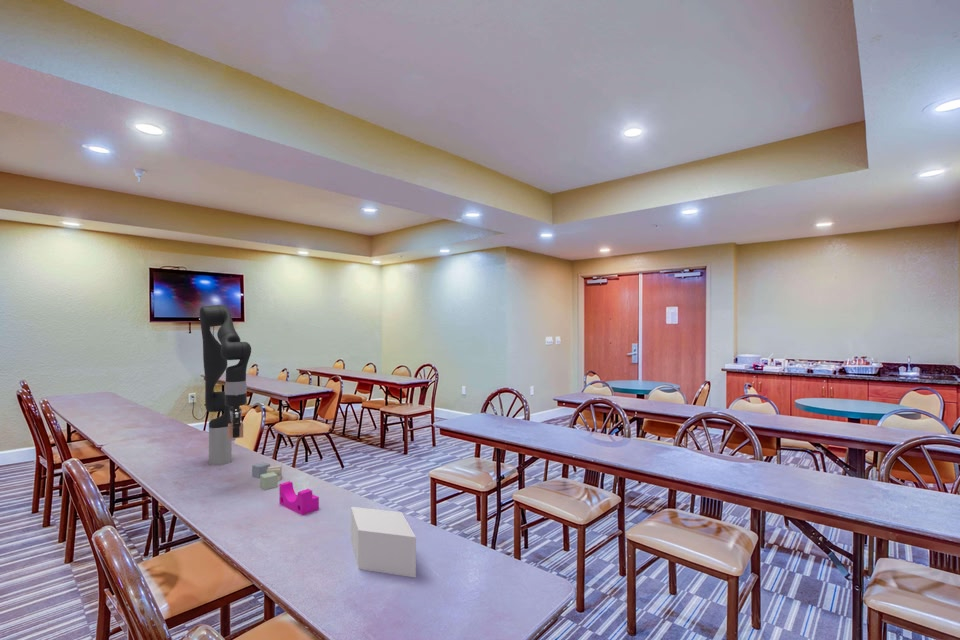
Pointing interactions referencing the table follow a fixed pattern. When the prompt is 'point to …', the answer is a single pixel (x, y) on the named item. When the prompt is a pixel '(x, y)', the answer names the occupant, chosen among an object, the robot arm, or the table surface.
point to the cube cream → (276, 471)
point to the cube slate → (259, 469)
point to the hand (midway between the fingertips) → (235, 435)
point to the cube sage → (268, 481)
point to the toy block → (297, 499)
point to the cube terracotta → (230, 430)
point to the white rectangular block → (383, 541)
